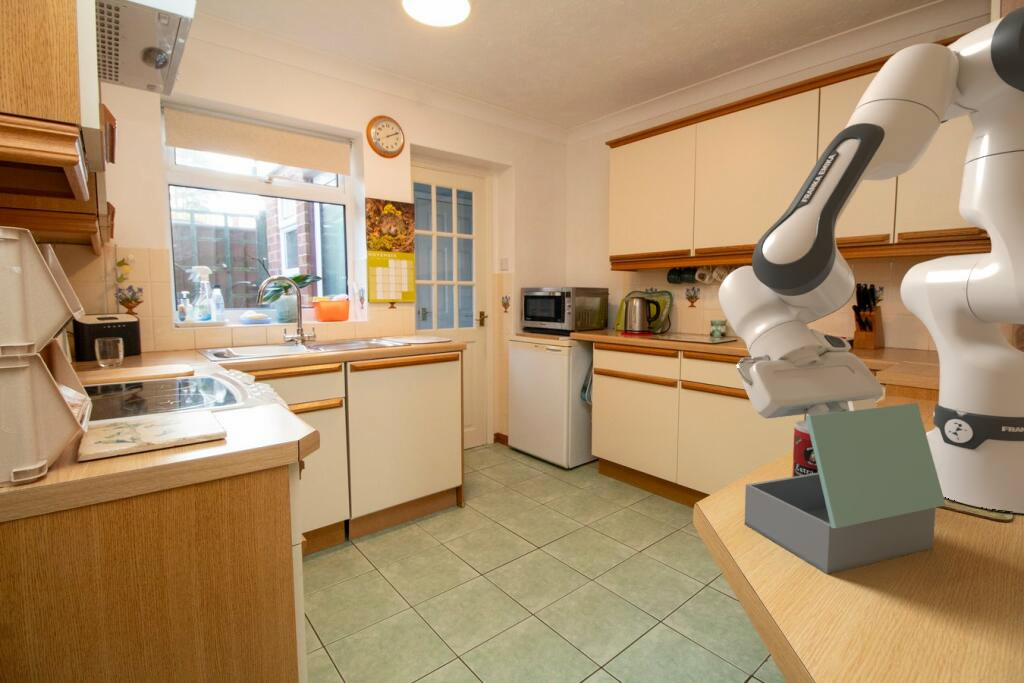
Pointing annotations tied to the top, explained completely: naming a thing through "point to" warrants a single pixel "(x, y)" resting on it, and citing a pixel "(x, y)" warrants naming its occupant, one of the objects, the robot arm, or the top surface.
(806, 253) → the robot arm
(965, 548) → the top surface
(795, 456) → the canned food
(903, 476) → the mailer lid
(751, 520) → the box
